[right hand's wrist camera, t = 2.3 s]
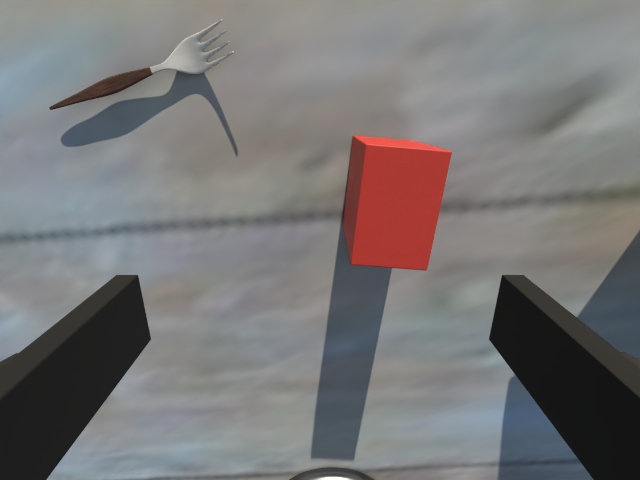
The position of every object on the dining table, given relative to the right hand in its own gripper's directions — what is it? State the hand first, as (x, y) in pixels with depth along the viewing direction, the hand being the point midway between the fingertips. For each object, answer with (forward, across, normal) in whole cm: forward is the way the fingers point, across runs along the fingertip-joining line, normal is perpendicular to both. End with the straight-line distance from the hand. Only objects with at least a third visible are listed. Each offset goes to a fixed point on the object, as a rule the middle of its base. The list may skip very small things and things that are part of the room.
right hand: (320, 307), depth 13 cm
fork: (+19, +14, -10) cm, 26 cm away
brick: (+19, -5, -1) cm, 20 cm away
